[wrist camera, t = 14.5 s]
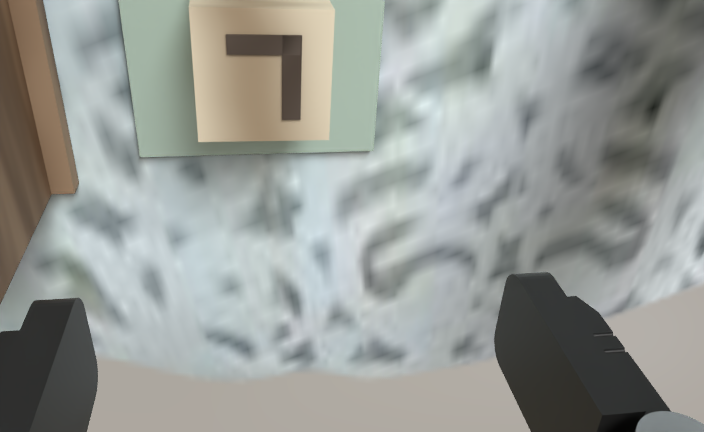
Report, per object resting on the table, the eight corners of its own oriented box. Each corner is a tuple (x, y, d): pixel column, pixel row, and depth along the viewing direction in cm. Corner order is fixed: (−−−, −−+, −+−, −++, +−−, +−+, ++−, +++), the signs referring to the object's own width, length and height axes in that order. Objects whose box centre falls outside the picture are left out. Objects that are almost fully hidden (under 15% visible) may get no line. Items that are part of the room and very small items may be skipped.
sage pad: (389, -100, 26) (392, -99, 25) (371, 146, 31) (373, 150, 31) (105, -112, 24) (103, -110, 23) (141, 152, 30) (139, 157, 29)
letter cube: (317, -21, 26) (335, 10, 22) (314, 94, 29) (329, 141, 25) (194, -24, 26) (188, 7, 21) (202, 94, 28) (198, 143, 24)
